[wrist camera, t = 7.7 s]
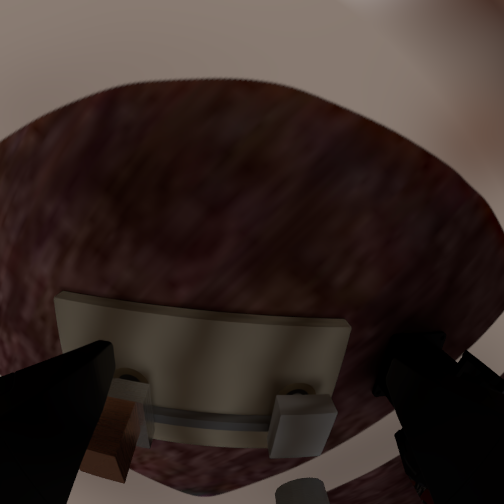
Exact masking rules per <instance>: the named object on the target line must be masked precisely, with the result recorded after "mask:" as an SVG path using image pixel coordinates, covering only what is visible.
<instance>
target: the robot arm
mask: <svg viewBox="0 0 504 504" xmlns="http://www.w3.org/2000/svg"><path fill="white" fill-rule="evenodd" d="M441 336H442V337H441ZM396 339H397V341H395V340H396ZM445 339H446V334H445V333H444V332H443V331H439V332H423V333H403V334H395V335H393V336H392V337H391V339H390V343H389V346H388V349H387V352H386V355H385V358H384V360H383V363H382V366H381V369H380V371H379V374H378V377H377V379H376V383H375V385H374V388H373V391H372V393H373V395H374V396H375V397H379V396H386V397H387V398H388V400H389V401H390V402H391V404H392V405H393V407H394V408H395V411H396V414H397V416H398V419H399V421H400V423H401V426H402V429H401V430H398V431H397V432H396V433H395V435H394V436H395V439H396V442H397V446H398V449H399V453H400V456H401V459H402V463H403V466H404V469H405V473H406V474H407V475H408V476H409V478H410V479H411V480H413V481H415V482H416V483H417V484H419V485H420V486H422V487H425V488H427V489H428V490H429V492H430V495H431V497H432V500H433V502H434V504H504V380H503V379H502V378H501V377H500V376H498V375H497V374H496V373H495V372H493V371H492V370H491V369H490V368H489V367H487V366H486V365H485V364H484V363H482V362H481V361H480V360H479V359H477V358H476V357H475V356H473V355H472V354H471V353H469V352H468V351H467V350H465V352H464V353H463V355H462V358H461V359H460V361H459V362H458V363H457V362H456V361H455V360H454V359H452V358H451V357H450V356H449V355H448V354H447V353H445V352H444V351H443V350H442V347H443V344H444V341H445ZM115 368H116V364H115V357H114V348H113V344H112V343H111V342H110V341H105V340H97V341H95V342H92V343H90V344H87V345H85V346H82V347H79V348H77V349H74V350H72V351H69V352H66V353H64V354H61V355H59V356H56V357H53V358H51V359H48V360H45V361H43V362H40V363H37V364H35V365H32V366H29V367H27V368H24V369H21V370H18V371H16V372H15V373H14V372H13V373H10V374H7V375H5V376H2V377H0V504H67V501H68V498H69V495H70V492H71V489H72V487H73V483H74V481H75V478H76V475H77V473H78V470H79V468H80V465H81V462H82V460H83V457H84V455H85V452H86V450H87V447H88V445H89V442H90V440H91V437H92V435H93V433H94V430H95V428H96V426H97V423H98V421H99V418H100V416H101V414H102V411H103V409H104V406H105V402H106V399H107V396H108V392H109V389H110V386H111V382H112V379H113V376H114V373H115ZM377 391H378V392H377Z"/></svg>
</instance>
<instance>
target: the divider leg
mask: <svg viewBox="0 0 504 504" xmlns="http://www.w3.org/2000/svg"><path fill="white" fill-rule="evenodd" d="M154 432H155V425H154V417H153V409H152V400H151V390H150V384H146V383H140V382H135V381H130V380H124V379H119V378H114V377H113V379H112V382H111V386H110V389H109V392H108V396H107V399H106V402H105V406H104V409H103V411H102V414H101V416H100V418H99V421H98V423H97V426H96V428H95V430H94V433H93V435H92V437H91V440H90V442H89V445H88V447H87V450H86V452H85V455H84V457H83V460H82V462H81V465H80V470H81V471H83V472H86V473H89V474H92V475H95V476H99V477H102V478H106V479H110V480H113V481H117V482H120V483H125V481H126V477H127V474H128V471H129V467H130V464H131V460H132V457H133V454H134V451H135V447H136V446H139V447H144V448H149V449H150V447H151V443H152V440H153V436H154Z"/></svg>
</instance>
